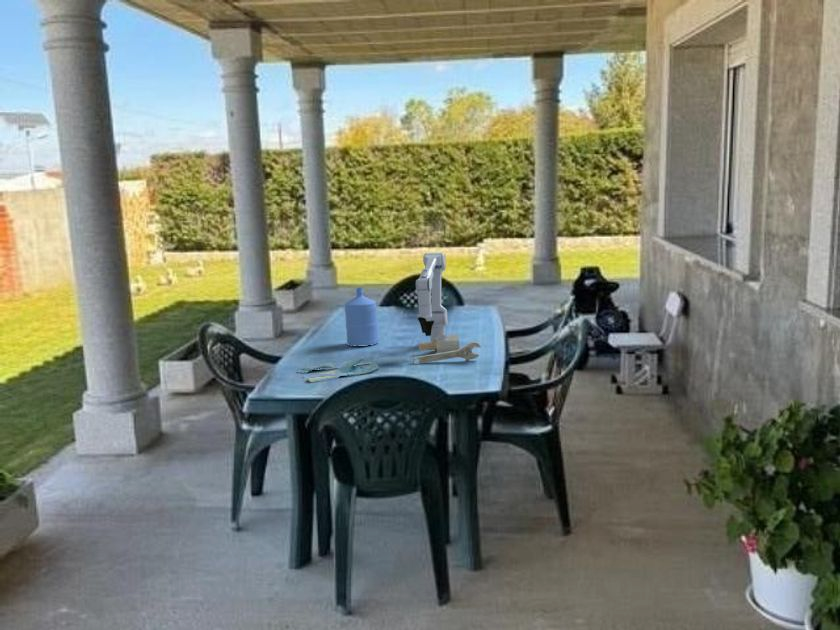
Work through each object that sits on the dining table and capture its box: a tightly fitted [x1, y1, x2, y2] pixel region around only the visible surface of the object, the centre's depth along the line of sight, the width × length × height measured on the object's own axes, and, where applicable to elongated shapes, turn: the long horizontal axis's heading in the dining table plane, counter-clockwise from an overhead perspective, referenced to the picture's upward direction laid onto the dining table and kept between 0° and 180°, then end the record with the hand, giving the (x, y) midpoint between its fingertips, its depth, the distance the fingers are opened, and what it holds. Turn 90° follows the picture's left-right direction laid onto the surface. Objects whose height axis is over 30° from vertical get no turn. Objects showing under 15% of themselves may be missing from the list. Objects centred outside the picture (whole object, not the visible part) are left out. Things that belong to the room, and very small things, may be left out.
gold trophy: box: [418, 339, 437, 354], centre depth 349 cm, size 6×14×6 cm, turn 90°
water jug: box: [344, 287, 380, 346], centre depth 377 cm, size 16×16×28 cm
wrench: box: [412, 341, 482, 365], centre depth 332 cm, size 8×2×30 cm
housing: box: [436, 333, 460, 354], centre depth 349 cm, size 14×10×7 cm
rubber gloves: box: [298, 356, 380, 382], centre depth 327 cm, size 27×33×6 cm
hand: (426, 334), depth 347 cm, fingers open, 7 cm apart
